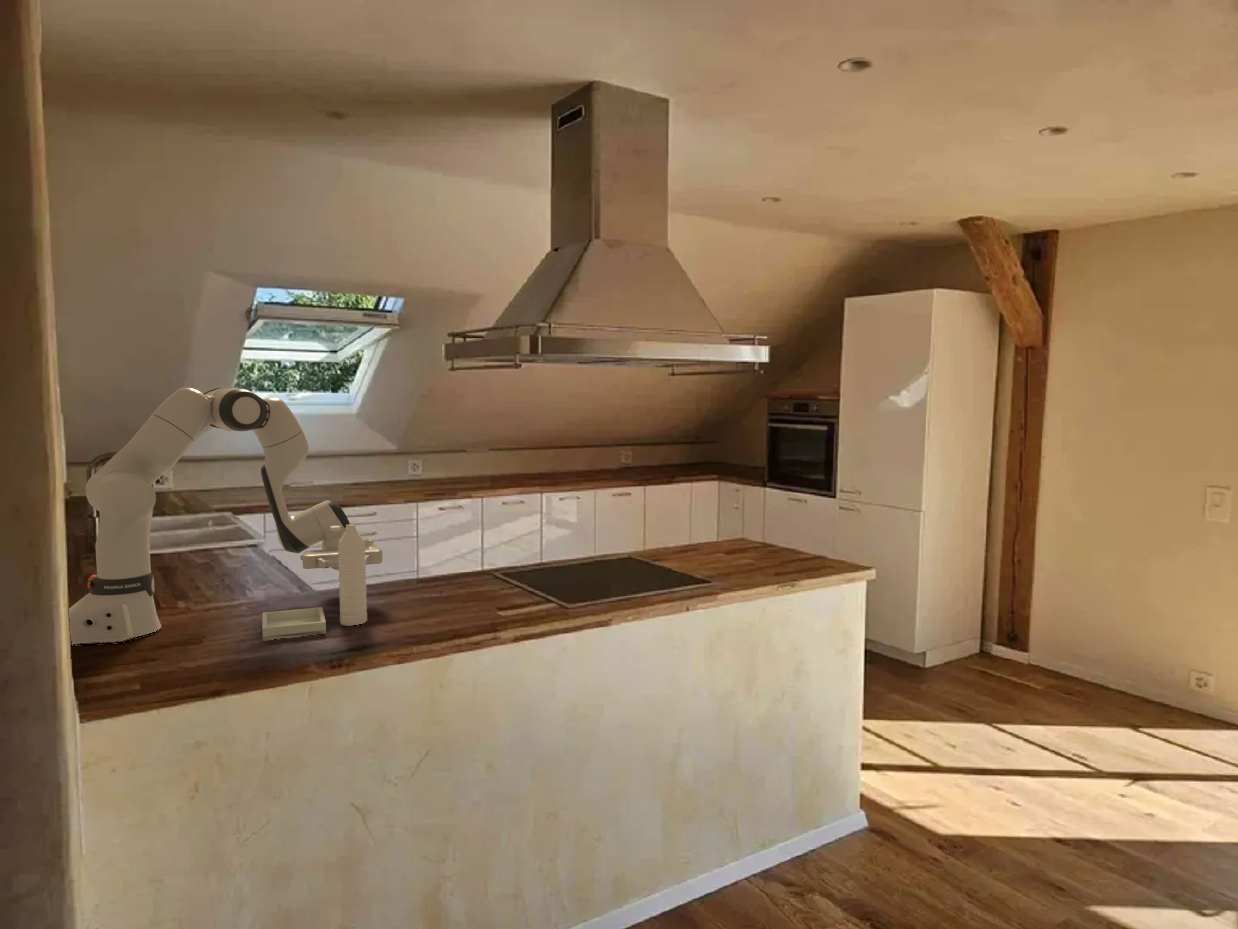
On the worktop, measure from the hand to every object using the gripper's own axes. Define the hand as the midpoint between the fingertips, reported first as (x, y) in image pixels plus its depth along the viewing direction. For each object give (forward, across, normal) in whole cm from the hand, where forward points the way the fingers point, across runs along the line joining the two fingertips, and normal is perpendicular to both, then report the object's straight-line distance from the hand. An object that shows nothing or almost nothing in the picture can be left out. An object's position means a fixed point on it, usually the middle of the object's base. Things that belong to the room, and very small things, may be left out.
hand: (345, 563), depth 216 cm
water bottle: (+8, 0, +14) cm, 16 cm away
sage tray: (+8, -13, +14) cm, 21 cm away
